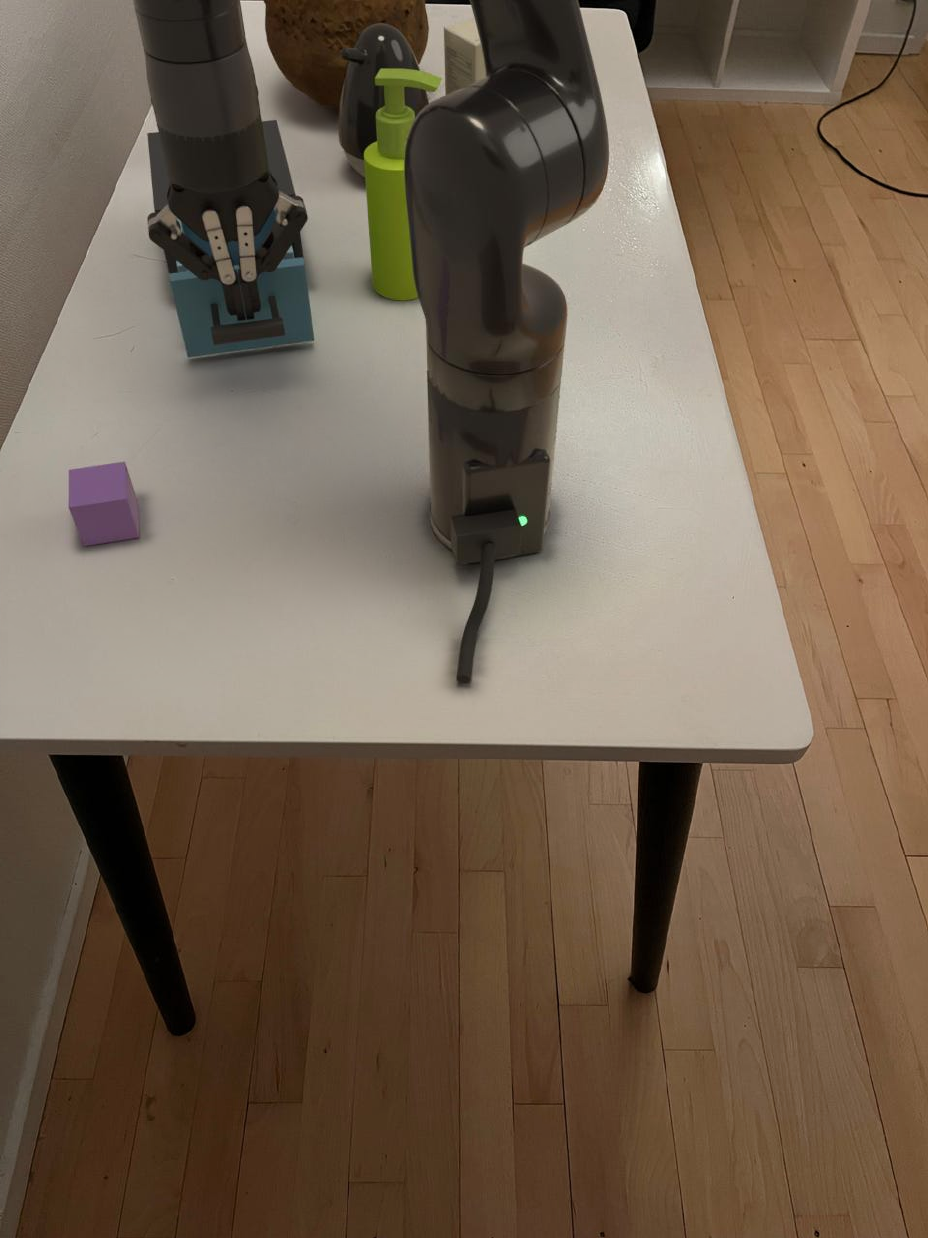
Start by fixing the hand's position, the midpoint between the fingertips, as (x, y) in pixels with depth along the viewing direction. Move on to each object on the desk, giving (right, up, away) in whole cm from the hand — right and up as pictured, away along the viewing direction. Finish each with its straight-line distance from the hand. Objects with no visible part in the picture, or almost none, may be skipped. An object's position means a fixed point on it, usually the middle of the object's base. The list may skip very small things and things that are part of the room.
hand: (245, 314), depth 90 cm
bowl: (+5, +37, +39) cm, 54 cm away
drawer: (-2, +2, +8) cm, 9 cm away
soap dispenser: (+13, +7, +14) cm, 20 cm away
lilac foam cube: (-9, -18, -7) cm, 22 cm away
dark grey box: (-5, +11, +17) cm, 21 cm away
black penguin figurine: (+10, +24, +28) cm, 38 cm away
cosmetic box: (+20, +29, +32) cm, 47 cm away
